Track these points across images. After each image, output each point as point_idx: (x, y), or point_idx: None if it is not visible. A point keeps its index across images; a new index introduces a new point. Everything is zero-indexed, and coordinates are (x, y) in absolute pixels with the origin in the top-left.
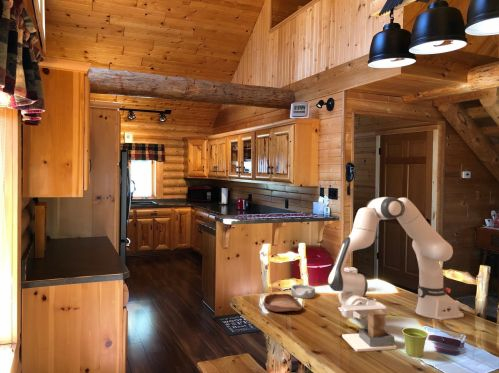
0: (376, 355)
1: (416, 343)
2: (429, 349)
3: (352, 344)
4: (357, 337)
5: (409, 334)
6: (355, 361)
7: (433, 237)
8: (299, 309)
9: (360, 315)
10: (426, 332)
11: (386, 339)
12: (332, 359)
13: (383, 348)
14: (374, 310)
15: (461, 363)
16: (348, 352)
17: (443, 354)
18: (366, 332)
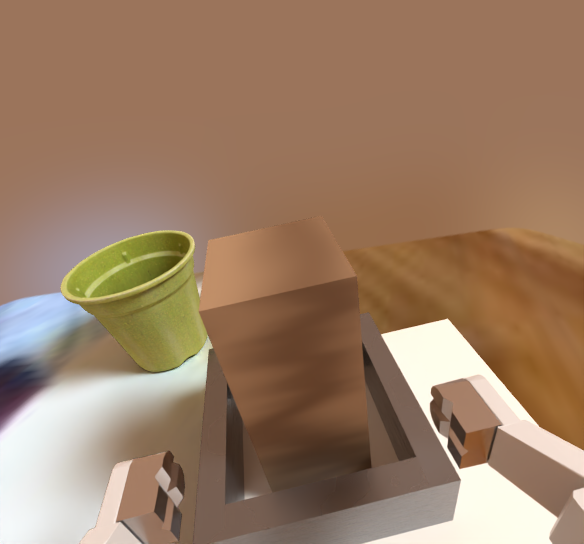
0: None
1: (170, 264)
2: (59, 397)
3: (482, 366)
4: (466, 495)
5: (130, 316)
6: (441, 266)
7: None
8: None
9: (463, 380)
10: (71, 270)
11: None
12: (543, 262)
13: None
14: (271, 290)
15: (68, 309)
16: (488, 318)
17: (52, 358)
18: (386, 390)
